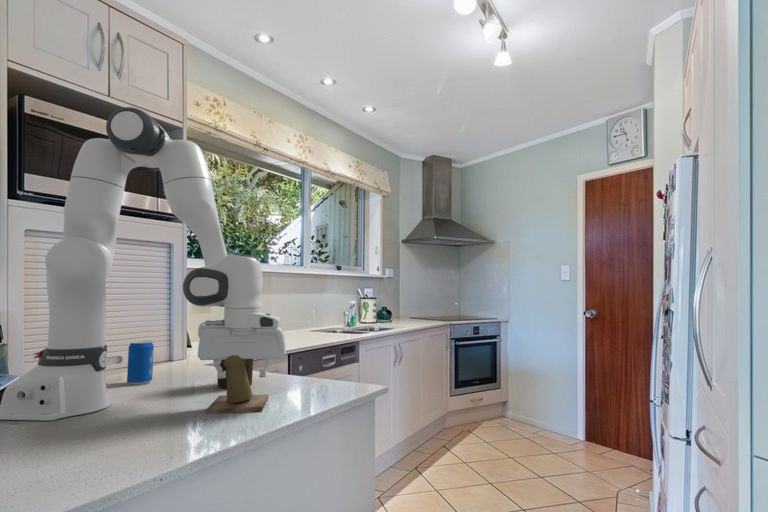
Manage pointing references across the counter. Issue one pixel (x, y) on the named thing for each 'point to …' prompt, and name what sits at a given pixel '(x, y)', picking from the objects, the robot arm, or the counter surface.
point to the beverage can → (140, 362)
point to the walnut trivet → (238, 405)
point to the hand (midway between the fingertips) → (242, 377)
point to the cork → (237, 380)
